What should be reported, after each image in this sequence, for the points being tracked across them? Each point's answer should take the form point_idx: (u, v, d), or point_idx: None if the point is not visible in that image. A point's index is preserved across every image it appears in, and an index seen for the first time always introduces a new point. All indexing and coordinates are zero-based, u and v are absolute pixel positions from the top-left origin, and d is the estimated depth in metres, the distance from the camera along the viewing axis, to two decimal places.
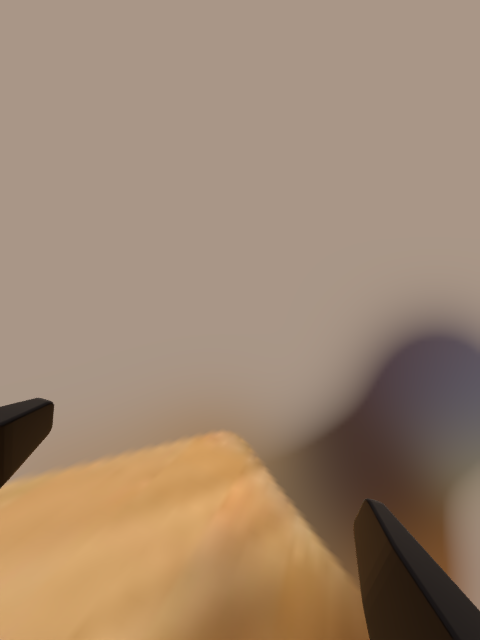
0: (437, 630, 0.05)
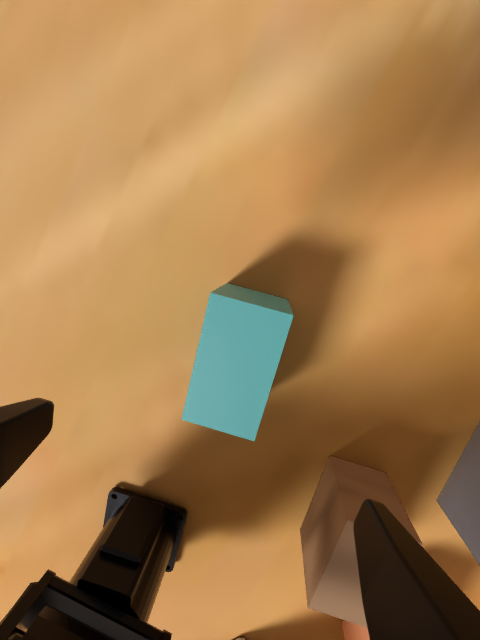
0: (437, 630, 0.05)
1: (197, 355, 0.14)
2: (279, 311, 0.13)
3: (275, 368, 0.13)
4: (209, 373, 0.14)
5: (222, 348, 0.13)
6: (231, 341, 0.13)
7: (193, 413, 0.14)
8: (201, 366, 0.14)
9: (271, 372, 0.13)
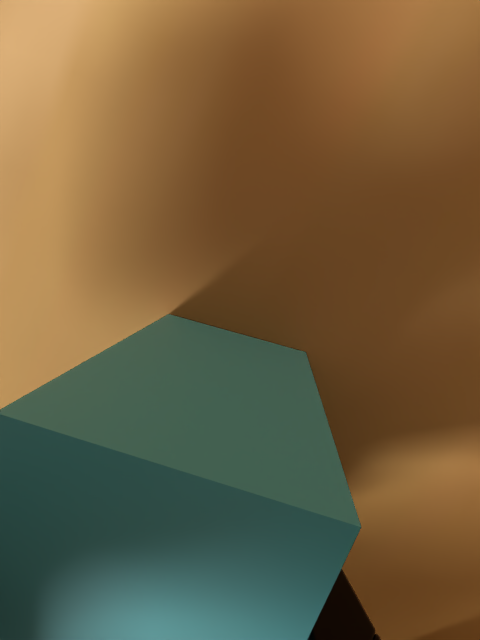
0: None
1: None
2: (294, 499, 0.03)
3: None
4: None
5: (77, 604, 0.04)
6: (106, 586, 0.03)
7: None
8: None
9: None
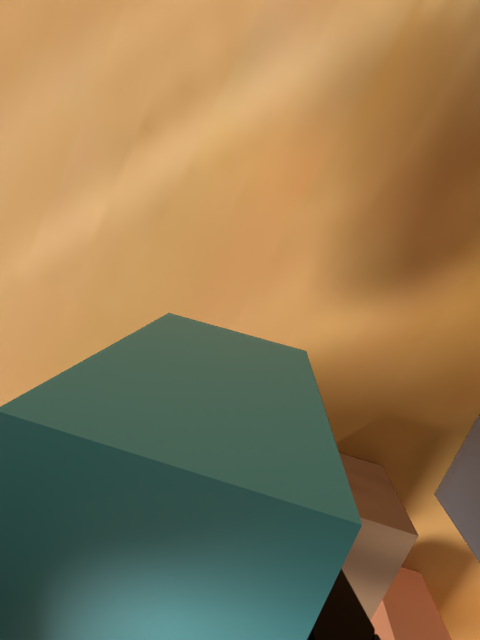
0: None
1: None
2: (295, 497, 0.03)
3: None
4: None
5: (76, 602, 0.04)
6: (106, 585, 0.03)
7: None
8: None
9: None
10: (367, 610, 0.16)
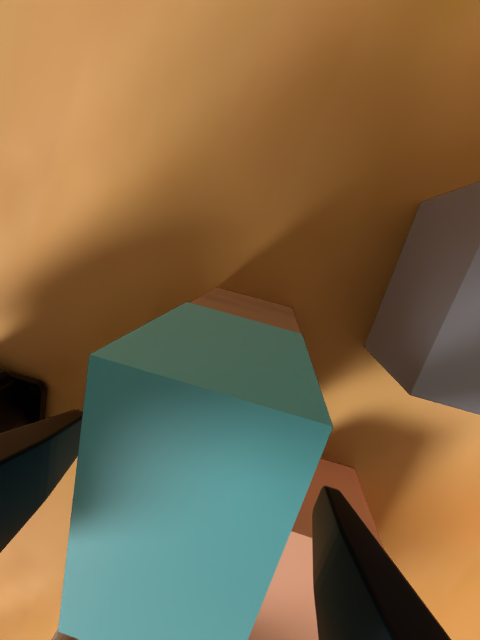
0: (371, 608, 0.05)
1: (75, 507, 0.05)
2: (290, 411, 0.04)
3: (277, 553, 0.05)
4: (110, 548, 0.05)
5: (136, 497, 0.05)
6: (158, 481, 0.05)
7: (81, 623, 0.06)
8: (87, 531, 0.05)
9: (266, 560, 0.05)
10: None
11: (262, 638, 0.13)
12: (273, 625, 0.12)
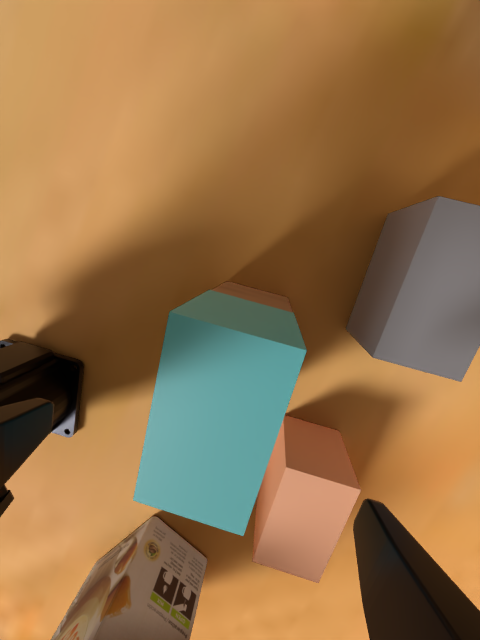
0: (437, 630, 0.05)
1: (152, 409, 0.09)
2: (283, 343, 0.08)
3: (276, 432, 0.08)
4: (172, 436, 0.09)
5: (191, 400, 0.08)
6: (205, 389, 0.08)
7: (149, 492, 0.09)
8: (158, 425, 0.09)
9: (269, 438, 0.08)
10: None
11: (264, 559, 0.16)
12: (273, 547, 0.16)
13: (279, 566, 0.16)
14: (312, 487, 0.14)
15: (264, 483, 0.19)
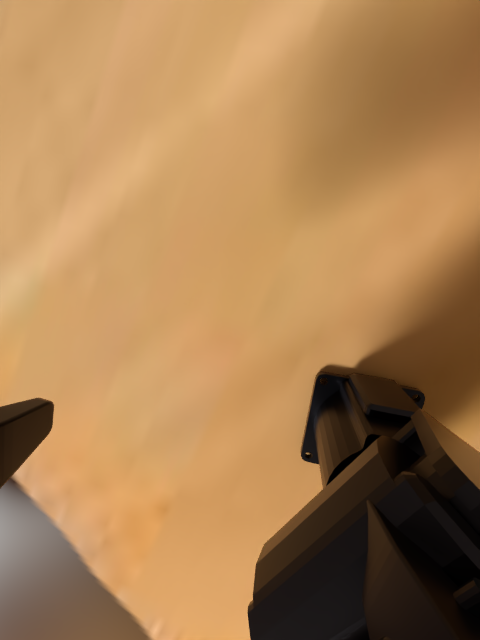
0: (437, 630, 0.05)
1: None
2: None
3: None
4: None
5: None
6: None
7: None
8: None
9: None
10: None
11: None
12: None
13: None
14: None
15: None
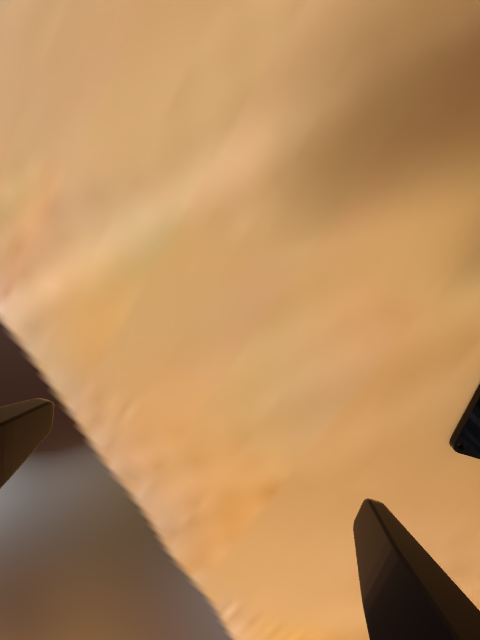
0: (438, 630, 0.05)
1: None
2: None
3: None
4: None
5: None
6: None
7: None
8: None
9: None
10: None
11: None
12: None
13: None
14: None
15: None
